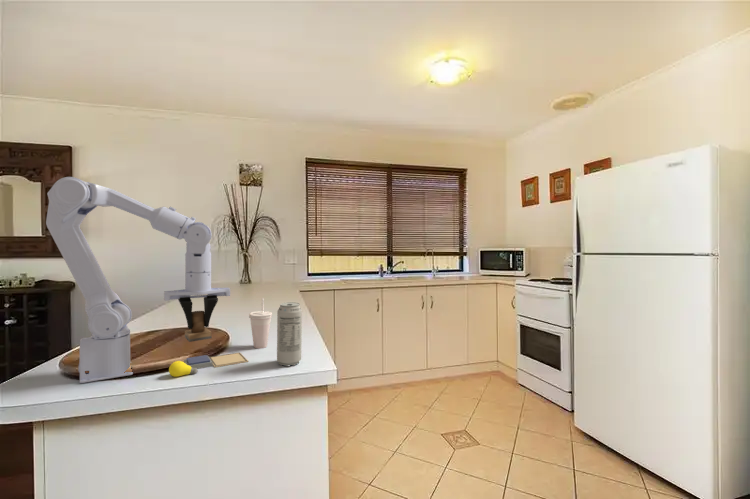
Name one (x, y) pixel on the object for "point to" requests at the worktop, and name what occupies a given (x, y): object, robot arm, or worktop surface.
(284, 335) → the energy drink can
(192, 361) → the ink pad
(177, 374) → the light bulb
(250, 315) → the smoothie
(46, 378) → the worktop surface
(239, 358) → the card sheet
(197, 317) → the stamp
